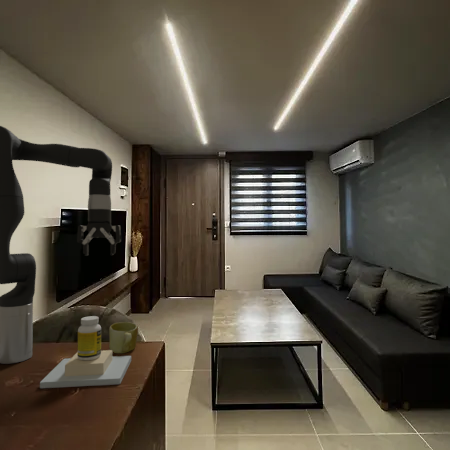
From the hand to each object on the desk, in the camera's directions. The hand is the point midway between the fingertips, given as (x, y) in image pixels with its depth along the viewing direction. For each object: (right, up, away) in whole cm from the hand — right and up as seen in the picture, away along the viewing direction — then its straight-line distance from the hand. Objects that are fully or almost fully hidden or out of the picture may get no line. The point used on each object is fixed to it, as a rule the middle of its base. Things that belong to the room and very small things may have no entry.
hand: (99, 255), depth 113 cm
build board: (+5, -32, -20) cm, 38 cm away
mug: (+9, -32, -3) cm, 34 cm away
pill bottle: (+5, -27, -20) cm, 34 cm away
